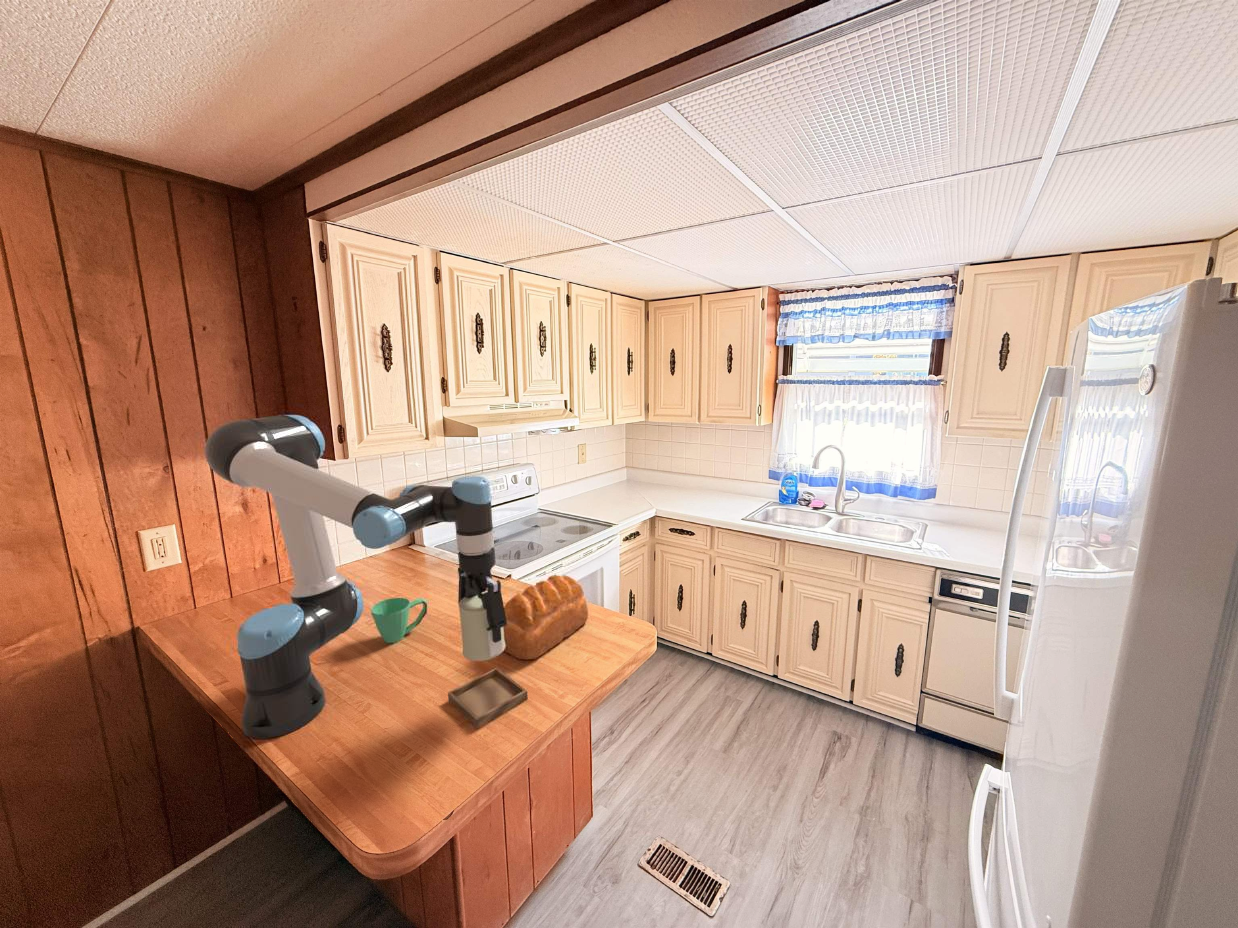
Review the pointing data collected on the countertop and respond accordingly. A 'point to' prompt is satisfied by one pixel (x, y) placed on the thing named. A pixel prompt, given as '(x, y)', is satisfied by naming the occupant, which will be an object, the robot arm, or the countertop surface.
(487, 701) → the tray
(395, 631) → the mug
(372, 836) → the countertop surface
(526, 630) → the bread
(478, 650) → the can
